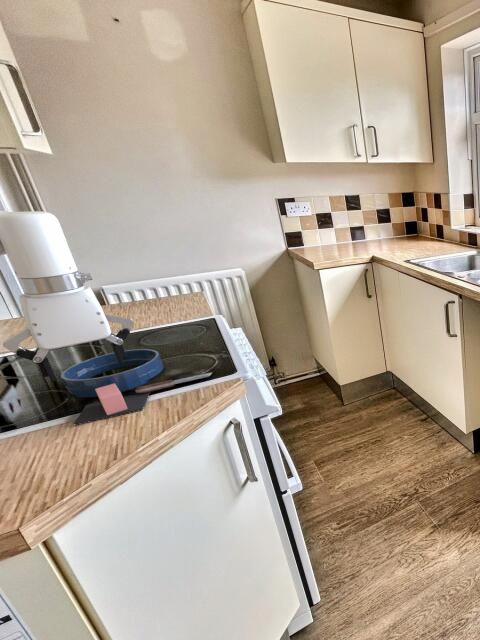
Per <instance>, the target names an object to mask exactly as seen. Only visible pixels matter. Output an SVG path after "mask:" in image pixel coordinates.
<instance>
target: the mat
mask: <svg viewBox="0 0 480 640" xmlns="http://www.w3.org/2000/svg"><path fill="white" fill-rule="evenodd" d="M149 394H151V392H147V393H142V394H138V393H136V394H131V395H127V396H122V397H123V399H124V401H125V404H126V406H127V408H128V409H126V410H122V411H119V412H116V413H113V414H110V415H107V414H106V412H105V410H104V408H103V406H102V404H101V402H100V401H98V402H93V403H88V404H86V405H85V406H84V408H83V409H82V411H81V412H80V413H79V415H78V416H77V418H76V419H75V420H74V421H73V423H72V425H73V426H75V425H74V424H78V425H80V424H79V423H83V424H85V423H84V422H87V423H89V422H88V421H92V422H94V421H93V420H96V421H98V420H97V419H101V420H103V419H102V418H105V419H107V418H106V417H110V418H112V417H111V416H114V417H116V416H115V415H119V416H121V415H120V414H123V415H125V414H124V413H128V414H130V413H129V412H132V413H134V412H133V411H137V412H139V411H138V410H141V411H143V410H144V408H145V406H146V404H147V402H146V401H148V400H147V398H148V399H149V397H150V395H149ZM148 396H149V397H148ZM145 403H146V404H145ZM144 405H145V406H144ZM143 407H144V408H143ZM142 409H143V410H142Z"/></svg>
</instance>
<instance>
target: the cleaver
mask: <svg viewBox="0 0 480 640" xmlns="http://www.w3.org/2000/svg"><path fill="white" fill-rule="evenodd" d="M212 374H213V372H212V371H211V372H206V373H202V374H196V375H192V376H188V377H183V378H179V379H175V380H173V379H170V380H165V381H161V382H156V383H151V384H145V385H142V386H139V387H137V388H135V390H134V391H135V393H136V394H142V393H147V392H150V393H151V392H154V391H159V390H164V389H167V388H172V387H174V386H175V385H176V384H182V383H186V382H191V381H195V380H199V379H204V378H208V377H210V376H211V375H212Z"/></svg>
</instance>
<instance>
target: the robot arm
mask: <svg viewBox="0 0 480 640" xmlns="http://www.w3.org/2000/svg"><path fill="white" fill-rule="evenodd" d="M4 255H6V256H7V258H8V260H9V262H10V265H11V267H12V270H13V271H14V274H15V276H16V277H17V281H18V283H19V285H20V288H21V289H22V292H23V293H22V294H19V296H18V297H19V298H18V299H19V303H20V308H21V312H22V316H23V318H24V321H25V323H26V328H24V329H23V330H20V331H18V332H17V333H15V334H14V335H12V336H10V337H9V338H7V339H5V340H4V341H3V342H2V347H3V348H5V349H6V350H7V351H10V352H11V353H13V354H15V355H16V356H17V357H18V358H19V357H20V358H21V359H26V360H29V361H32V362H33V363H36V364H37V366H38V368H39V371H40V372H41V375H42V377H43V378H47V377H48V378H49V381H50V382H55V381H56V380H57V376H56V373H55V371H54V369H53V367H52V365H51V363H50V360H49V358H48V357H46V356H47V355H48V353H49V352H50V351H51V350H57V349H61V348H67V347H71V346H76V345H80V344H82V345H83V344H85V343H91V342H95V341H101V340H104V339H105V340H106V341H108V342H111V343H110V345H111V349H112V350H113V353H115V356H116V359H117V361H118V362H119V364H121V365H122V364H125V363H124V361H123V359H124V358H127V356H126V354H125V351H126V350H125V348H124V346H123V344H124V342H125V340H126V339H127V338H128V337H129V335H130V334H131V330H132V327H133V323H134V320H133V319H132V318H131V317H127V316H120V315H114V314H108V313H105V312H104V309H103V308H102V305H101V304H100V302H99V300H98V298H97V296H96V294H95V293H94V291H93V289H92V288H91V286H90V285H85V283H86V282H88V281H92V280H93V277H92V274H91V272H81V271H79V269H78V267H77V265H76V262H75V260H74V257H73V254H72V251H71V249H70V247H69V244H68V241H67V239H66V236H65V233H64V230H63V229H62V225H61V222H60V221H59V219H58V217H56V215H54V214H53V213H51V212H48V211H42V210H41V211H40V210H32V211H31V210H29V211H8V210H0V256H4ZM110 323H115V324H119V325H121V328H120V330H119V331H118V332H117V333H116V334H115V333H114V332H112V330H111V326H110ZM30 337H31V338H32V340H33V342H34V344H35V346H36V348H35V349H34V351H33V350H30V349H28V348H24V347H22V346H21V345H19V344H21V343H23V342H24V341H26V340H27V339H29V338H30Z"/></svg>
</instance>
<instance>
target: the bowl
mask: <svg viewBox="0 0 480 640" xmlns="http://www.w3.org/2000/svg"><path fill="white" fill-rule="evenodd" d="M124 351H125V354H126V356H127V358H124V359H123V361H124V363H125V364H122V365H121V364H119V362H118V361H117V359H116V356H115V353H114V352H111V353H106V354H102V355H98V356H96V357H95V356H94V357H92V358H89V359H86V360H83V361H81V362H78V363H75V364H73V365H71V366H70V367H68V368H66V369H65V370H64V371H63V372H62V373H61V374H60V378H61V380H62V382H63V384H64V386H65V389H66V391H67V392H68V393H69V394H70V395H71V396H72V397H75V398H99V397H98V395H97V393H96V391H95V389H97V388H100V387H104V386H107V385H111V384H114V383H115V384H116V386H117V388H118V389H119V391H120V392H121V393H124V392H128V391H131V390H134V389H136V388H138V387H141V386H145V385H147V384H148V383H150V382H152V381H153V379H152V378H155V377H157V376H158V375H159V374H161V372H163V370H164V368H165V366H164V363H163V361H162V358H161V356H160V353H159V352H158V351H157V350H155V349H149V348H136V349H126V350H124ZM133 366H137V367H134V368H131V369H127V370H125V371H122V372H117V373H114V374H110V375H103V376H100V377H96V376H98V375H100V374H103V373H106V372H109V371H112V370H116V369H120V368H121V369H122V368H127V367H133ZM94 376H95V377H94Z"/></svg>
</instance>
